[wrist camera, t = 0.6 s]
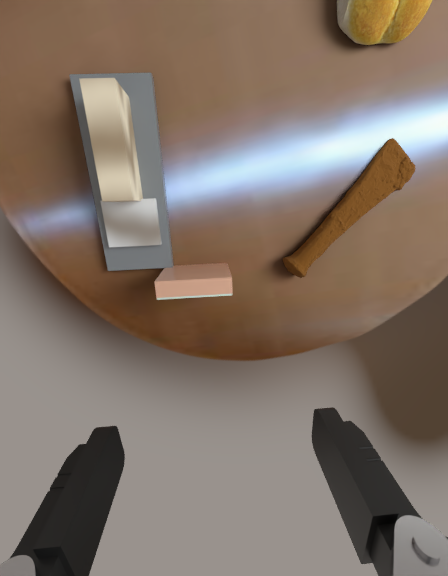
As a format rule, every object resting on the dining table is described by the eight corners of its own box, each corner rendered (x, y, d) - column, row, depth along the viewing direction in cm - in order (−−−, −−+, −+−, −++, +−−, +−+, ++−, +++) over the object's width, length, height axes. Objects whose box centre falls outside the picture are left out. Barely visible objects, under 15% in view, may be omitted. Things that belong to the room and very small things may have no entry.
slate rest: (74, 79, 25) (69, 74, 24) (153, 77, 25) (151, 72, 24) (111, 268, 31) (108, 270, 31) (173, 265, 32) (172, 267, 31)
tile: (166, 266, 32) (154, 281, 25) (227, 262, 32) (231, 277, 25) (167, 280, 32) (156, 299, 26) (227, 277, 33) (232, 295, 26)
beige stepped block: (84, 98, 25) (61, 78, 21) (143, 96, 25) (132, 77, 21) (111, 246, 30) (97, 252, 26) (161, 243, 30) (154, 249, 26)
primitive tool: (389, 136, 29) (413, 127, 25) (415, 170, 30) (441, 166, 27) (275, 259, 33) (283, 266, 30) (303, 284, 34) (313, 293, 31)
